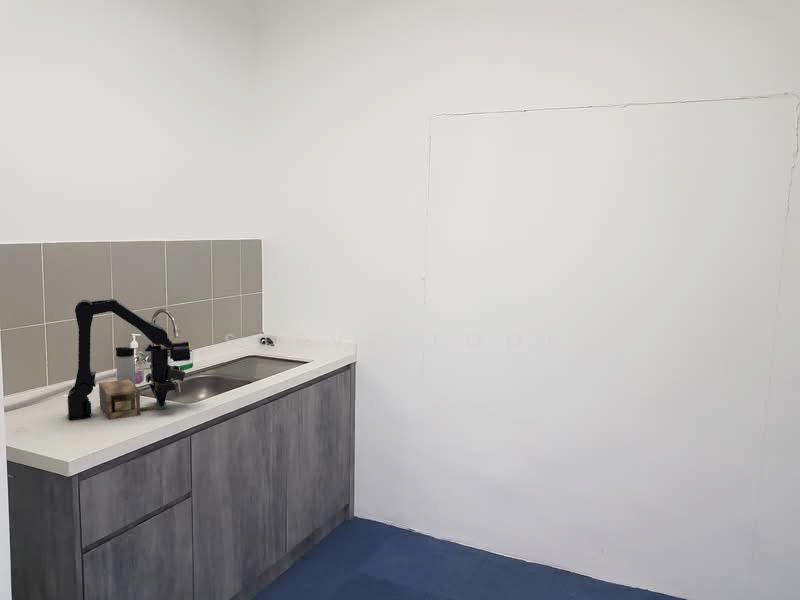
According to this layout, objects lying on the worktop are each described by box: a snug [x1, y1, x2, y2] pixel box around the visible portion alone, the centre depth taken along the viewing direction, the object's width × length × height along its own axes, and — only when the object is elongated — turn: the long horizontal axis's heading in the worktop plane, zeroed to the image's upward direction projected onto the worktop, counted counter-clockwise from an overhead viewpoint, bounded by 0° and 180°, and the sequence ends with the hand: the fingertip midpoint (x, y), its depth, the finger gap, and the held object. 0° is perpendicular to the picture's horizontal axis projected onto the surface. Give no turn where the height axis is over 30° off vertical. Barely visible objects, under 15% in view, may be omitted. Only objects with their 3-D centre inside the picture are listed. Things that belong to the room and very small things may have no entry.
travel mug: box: [115, 346, 137, 399], centre depth 235 cm, size 6×7×20 cm
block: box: [113, 397, 167, 412], centre depth 221 cm, size 17×5×5 cm, turn 124°
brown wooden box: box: [98, 379, 141, 420], centre depth 221 cm, size 10×18×9 cm, turn 33°
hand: (161, 405), depth 225 cm, fingers closed on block, 2 cm apart
